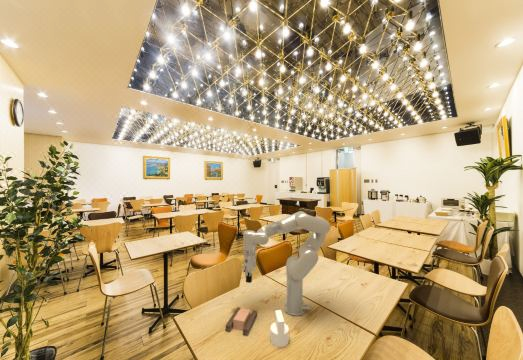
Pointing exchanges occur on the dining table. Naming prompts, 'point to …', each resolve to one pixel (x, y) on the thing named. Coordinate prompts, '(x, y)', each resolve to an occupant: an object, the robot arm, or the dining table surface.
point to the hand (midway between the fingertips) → (248, 281)
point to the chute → (247, 325)
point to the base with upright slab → (279, 331)
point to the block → (241, 319)
